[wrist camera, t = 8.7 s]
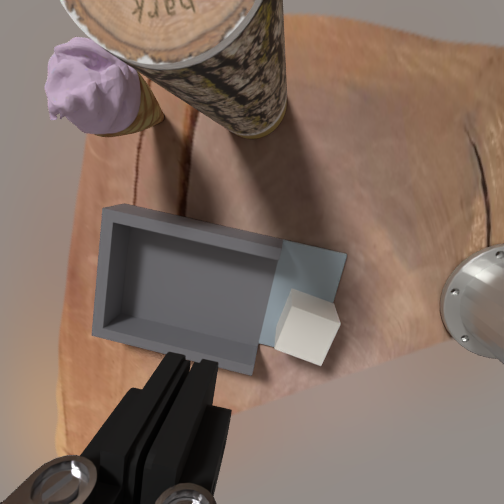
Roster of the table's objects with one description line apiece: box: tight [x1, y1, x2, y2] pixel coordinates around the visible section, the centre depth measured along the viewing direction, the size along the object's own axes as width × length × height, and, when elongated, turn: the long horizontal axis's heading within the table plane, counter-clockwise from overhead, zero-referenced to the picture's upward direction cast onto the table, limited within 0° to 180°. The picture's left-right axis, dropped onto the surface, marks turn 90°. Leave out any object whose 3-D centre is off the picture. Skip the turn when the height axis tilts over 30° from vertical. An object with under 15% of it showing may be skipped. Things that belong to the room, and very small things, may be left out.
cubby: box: [92, 204, 347, 376], centre depth 36 cm, size 25×14×4 cm, turn 78°
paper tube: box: [60, 0, 287, 139], centre depth 21 cm, size 7×7×25 cm
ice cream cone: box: [45, 37, 164, 137], centre depth 27 cm, size 7×6×15 cm
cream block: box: [274, 288, 341, 366], centre depth 35 cm, size 5×5×5 cm
